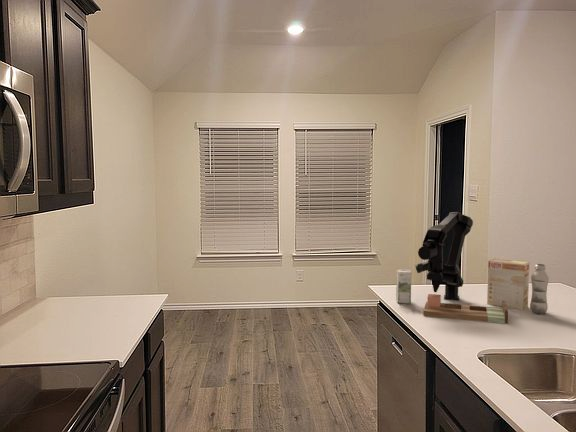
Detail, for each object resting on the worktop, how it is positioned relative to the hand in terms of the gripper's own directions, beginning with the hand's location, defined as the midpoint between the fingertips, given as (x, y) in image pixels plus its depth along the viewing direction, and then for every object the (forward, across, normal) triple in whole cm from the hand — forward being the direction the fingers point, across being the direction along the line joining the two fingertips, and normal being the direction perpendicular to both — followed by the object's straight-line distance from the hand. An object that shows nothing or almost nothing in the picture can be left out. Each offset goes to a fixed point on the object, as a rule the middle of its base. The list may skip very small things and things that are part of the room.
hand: (435, 292), depth 205 cm
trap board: (+6, +11, +11) cm, 17 cm away
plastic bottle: (+6, -1, +40) cm, 41 cm away
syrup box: (+6, 0, -14) cm, 15 cm away
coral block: (+4, +8, 0) cm, 9 cm away
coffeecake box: (+6, -9, +29) cm, 31 cm away
